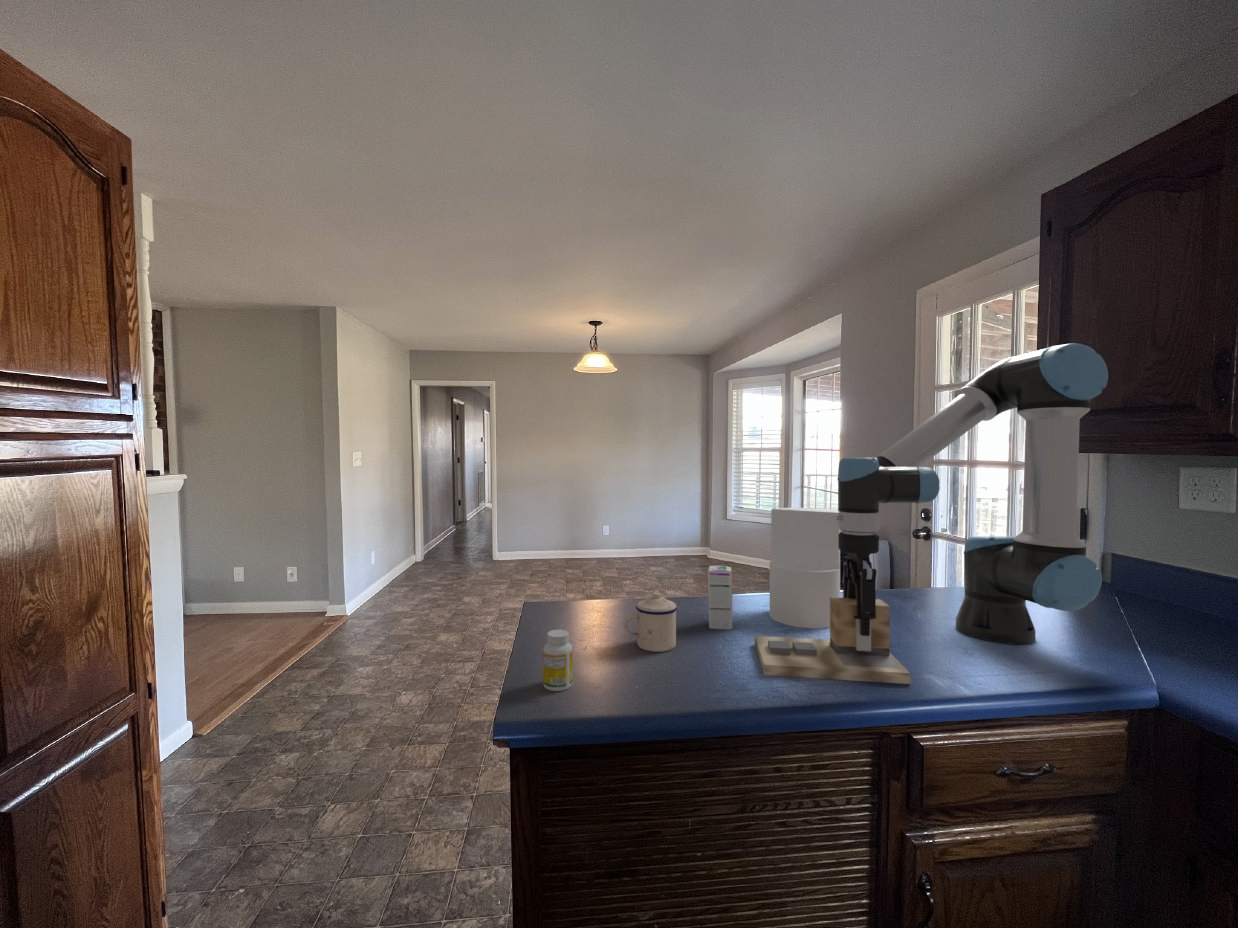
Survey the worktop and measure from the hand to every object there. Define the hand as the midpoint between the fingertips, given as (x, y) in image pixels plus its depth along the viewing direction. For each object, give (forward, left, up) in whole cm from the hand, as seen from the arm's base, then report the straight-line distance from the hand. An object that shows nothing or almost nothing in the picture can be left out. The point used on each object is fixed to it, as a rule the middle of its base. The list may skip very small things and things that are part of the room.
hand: (858, 644), depth 103 cm
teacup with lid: (+43, -2, -3) cm, 43 cm away
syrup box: (+27, -17, -3) cm, 33 cm away
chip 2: (+11, +3, -1) cm, 12 cm away
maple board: (+7, +3, -3) cm, 8 cm away
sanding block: (0, 0, -1) cm, 1 cm away
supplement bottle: (+58, +21, -3) cm, 62 cm away
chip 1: (+16, +3, -1) cm, 16 cm away
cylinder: (+5, -28, -3) cm, 28 cm away
